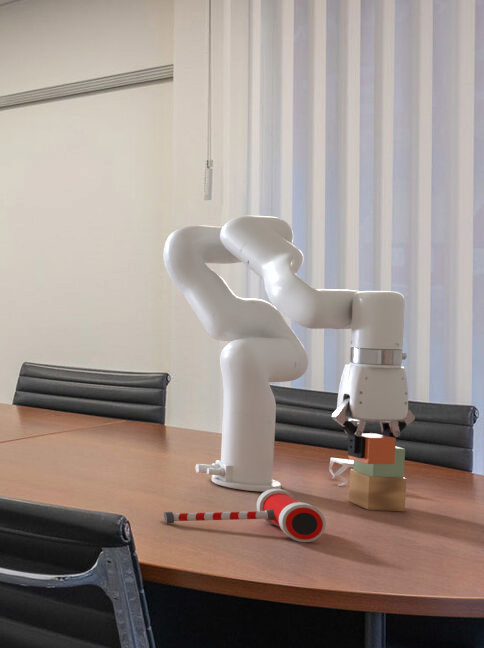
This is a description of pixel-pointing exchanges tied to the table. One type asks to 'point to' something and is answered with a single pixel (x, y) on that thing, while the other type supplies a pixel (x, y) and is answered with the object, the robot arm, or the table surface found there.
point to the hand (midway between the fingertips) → (371, 455)
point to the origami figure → (345, 465)
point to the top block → (377, 449)
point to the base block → (377, 492)
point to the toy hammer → (271, 515)
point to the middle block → (384, 466)
